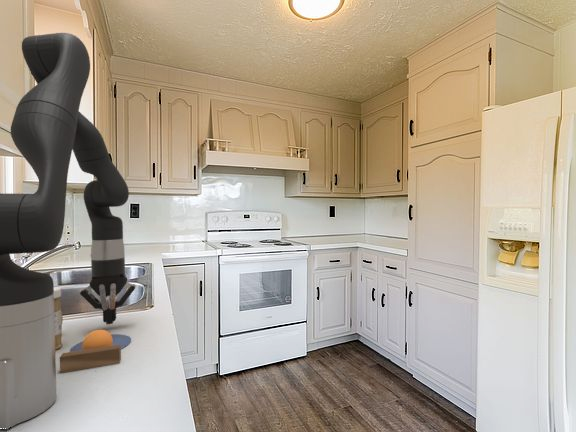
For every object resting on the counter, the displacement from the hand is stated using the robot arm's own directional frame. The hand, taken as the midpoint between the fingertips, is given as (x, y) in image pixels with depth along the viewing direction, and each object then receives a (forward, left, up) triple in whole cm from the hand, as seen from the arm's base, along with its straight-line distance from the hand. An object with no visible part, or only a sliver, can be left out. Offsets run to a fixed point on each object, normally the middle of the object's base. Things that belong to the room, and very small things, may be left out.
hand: (109, 323), depth 81 cm
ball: (-15, -8, +1) cm, 17 cm away
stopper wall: (-19, -10, -2) cm, 21 cm away
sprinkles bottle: (-12, +5, -2) cm, 14 cm away
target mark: (-10, -5, -2) cm, 11 cm away
